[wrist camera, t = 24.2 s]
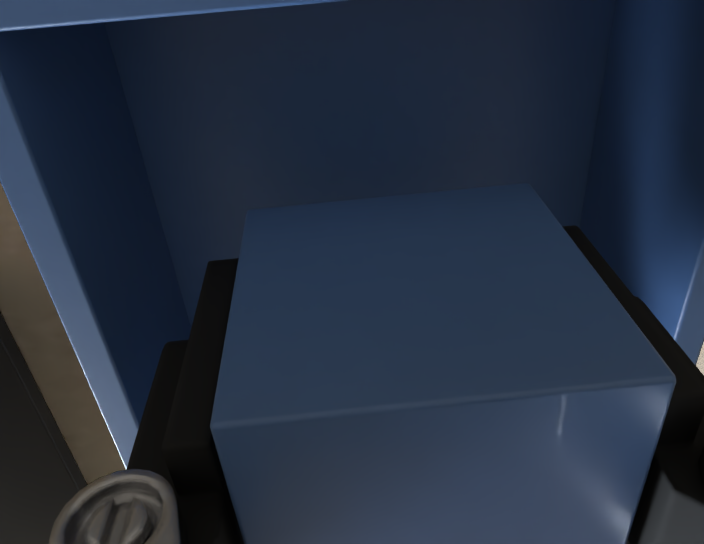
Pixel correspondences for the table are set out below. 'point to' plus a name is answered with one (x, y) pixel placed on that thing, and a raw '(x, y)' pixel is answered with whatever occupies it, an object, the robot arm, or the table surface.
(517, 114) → the blue bin
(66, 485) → the charcoal bin
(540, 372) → the blue block
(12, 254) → the table surface
